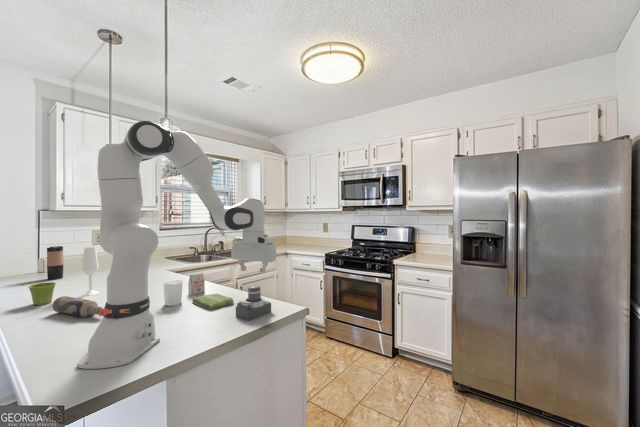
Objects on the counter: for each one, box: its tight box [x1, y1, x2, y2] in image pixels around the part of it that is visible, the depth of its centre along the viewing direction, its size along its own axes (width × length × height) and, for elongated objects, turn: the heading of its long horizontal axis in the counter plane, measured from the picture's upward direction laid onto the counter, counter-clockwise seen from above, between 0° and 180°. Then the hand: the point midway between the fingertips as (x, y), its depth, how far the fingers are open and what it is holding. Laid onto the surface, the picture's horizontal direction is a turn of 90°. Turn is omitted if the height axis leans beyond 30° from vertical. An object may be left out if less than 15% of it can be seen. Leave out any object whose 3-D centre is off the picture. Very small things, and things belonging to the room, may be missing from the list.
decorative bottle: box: [51, 295, 104, 318], centre depth 119 cm, size 26×8×7 cm, turn 70°
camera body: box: [235, 296, 272, 322], centre depth 120 cm, size 12×8×6 cm
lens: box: [247, 285, 262, 302], centre depth 120 cm, size 5×5×7 cm
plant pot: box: [27, 281, 57, 306], centre depth 134 cm, size 9×9×9 cm
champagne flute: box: [81, 246, 100, 297], centre depth 149 cm, size 7×7×24 cm
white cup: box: [162, 279, 183, 307], centre depth 133 cm, size 8×8×10 cm
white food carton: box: [187, 272, 206, 296], centre depth 150 cm, size 4×7×10 cm, turn 138°
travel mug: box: [46, 245, 64, 281], centre depth 182 cm, size 8×8×20 cm
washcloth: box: [192, 293, 235, 311], centre depth 134 cm, size 13×18×3 cm
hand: (252, 271), depth 119 cm, fingers open, 8 cm apart
